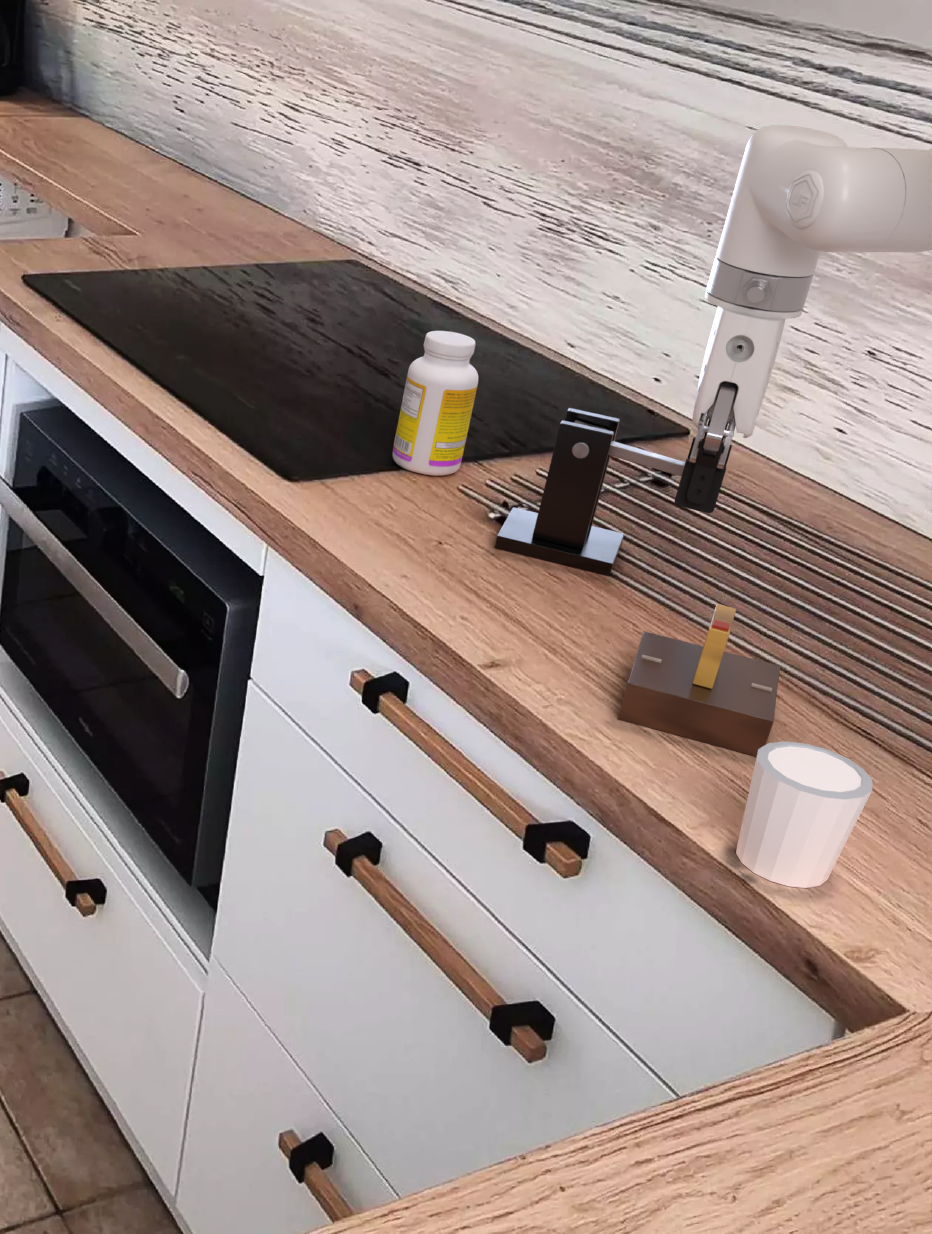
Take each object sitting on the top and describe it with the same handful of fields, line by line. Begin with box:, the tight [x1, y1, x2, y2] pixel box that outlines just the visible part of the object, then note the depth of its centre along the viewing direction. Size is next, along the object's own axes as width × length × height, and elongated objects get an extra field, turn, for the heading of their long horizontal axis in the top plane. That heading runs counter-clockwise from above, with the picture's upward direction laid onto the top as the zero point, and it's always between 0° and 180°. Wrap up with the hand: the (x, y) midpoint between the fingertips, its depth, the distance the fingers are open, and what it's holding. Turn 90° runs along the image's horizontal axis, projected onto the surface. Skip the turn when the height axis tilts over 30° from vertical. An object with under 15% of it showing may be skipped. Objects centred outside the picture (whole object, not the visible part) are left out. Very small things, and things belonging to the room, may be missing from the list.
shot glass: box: [735, 740, 874, 889], centre depth 109 cm, size 7×7×7 cm
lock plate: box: [617, 630, 781, 758], centre depth 127 cm, size 10×10×3 cm
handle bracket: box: [494, 407, 625, 577], centre depth 151 cm, size 10×8×12 cm
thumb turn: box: [693, 603, 737, 689], centre depth 126 cm, size 5×1×5 cm, turn 155°
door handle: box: [574, 420, 686, 477], centre depth 148 cm, size 12×5×2 cm, turn 67°
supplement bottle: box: [392, 330, 479, 477], centre depth 167 cm, size 7×7×13 cm
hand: (697, 494), depth 148 cm, fingers open, 5 cm apart
